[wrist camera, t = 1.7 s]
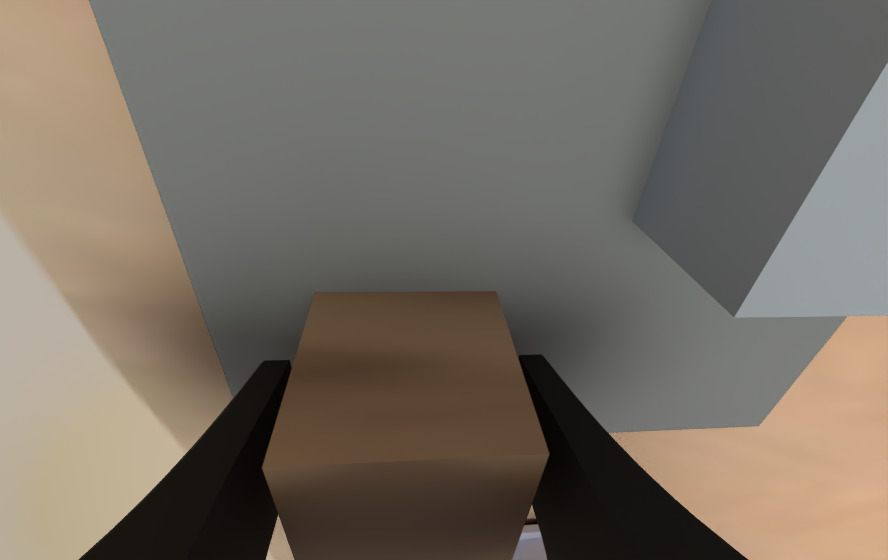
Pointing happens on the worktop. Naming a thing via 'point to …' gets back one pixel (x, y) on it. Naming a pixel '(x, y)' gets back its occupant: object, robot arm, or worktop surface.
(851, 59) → the base block
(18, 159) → the worktop surface
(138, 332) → the worktop surface
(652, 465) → the worktop surface
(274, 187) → the mat
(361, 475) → the walnut block
